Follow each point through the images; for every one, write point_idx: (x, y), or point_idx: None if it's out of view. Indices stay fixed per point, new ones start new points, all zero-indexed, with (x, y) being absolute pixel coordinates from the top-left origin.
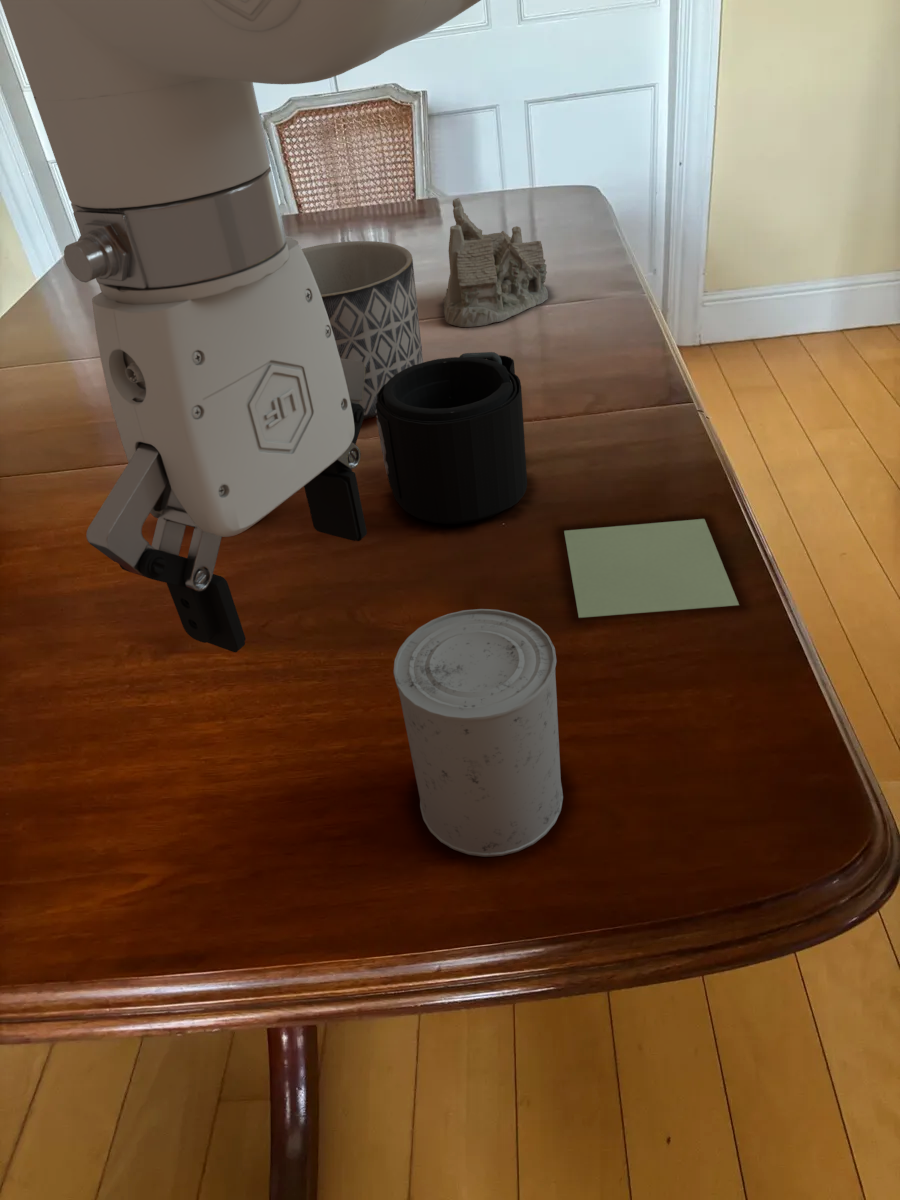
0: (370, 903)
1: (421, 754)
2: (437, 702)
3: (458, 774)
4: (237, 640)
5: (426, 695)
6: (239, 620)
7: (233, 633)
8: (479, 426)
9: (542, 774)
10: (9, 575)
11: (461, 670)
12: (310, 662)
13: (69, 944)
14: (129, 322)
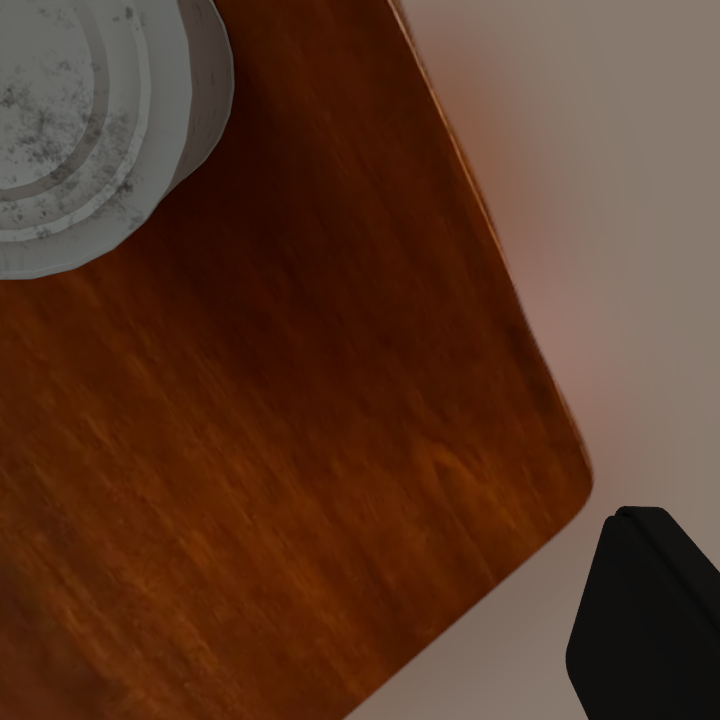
0: (368, 165)
1: (199, 142)
2: (151, 92)
3: (208, 44)
4: (673, 527)
5: (141, 133)
6: (657, 572)
7: (696, 552)
8: None
9: None
10: None
11: (14, 87)
12: (4, 502)
13: (541, 477)
14: None
